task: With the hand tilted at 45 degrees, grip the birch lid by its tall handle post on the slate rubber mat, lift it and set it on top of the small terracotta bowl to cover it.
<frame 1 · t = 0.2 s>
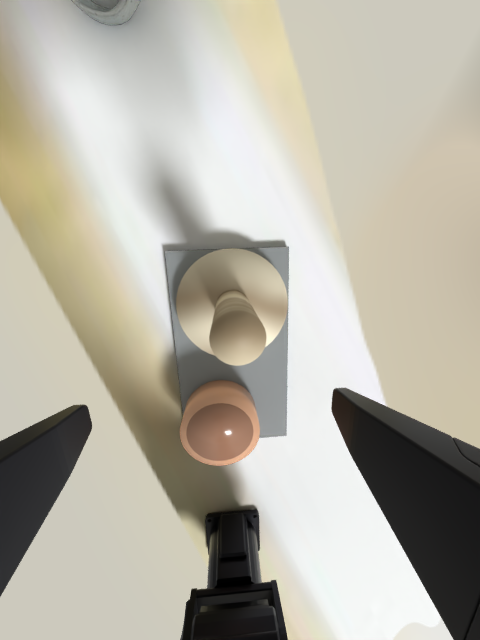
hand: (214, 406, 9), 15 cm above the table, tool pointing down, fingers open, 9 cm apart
birch lid: (232, 304, 22), point 1 cm above the table, touching slate mat
slate mat: (232, 352, 24), on the table
terracotta bowl: (220, 408, 24), resting on slate mat
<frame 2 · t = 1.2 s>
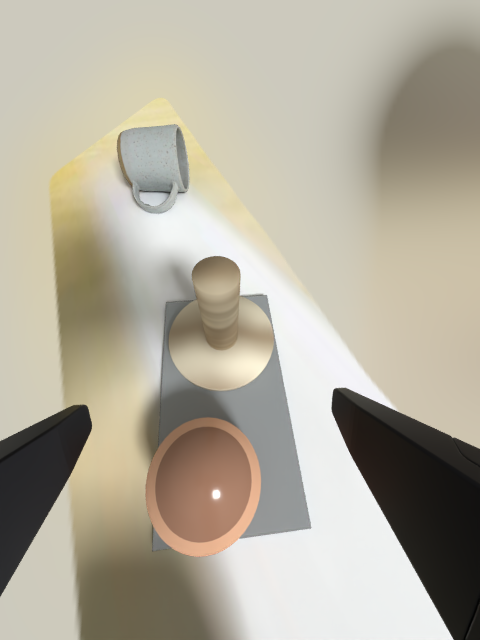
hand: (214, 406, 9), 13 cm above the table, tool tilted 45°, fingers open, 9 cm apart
birch lid: (222, 340, 23), point 1 cm above the table, touching slate mat
slate mat: (223, 392, 21), on the table
ceramic mug: (164, 193, 36), on the table
terracotta bowl: (209, 473, 18), resting on slate mat
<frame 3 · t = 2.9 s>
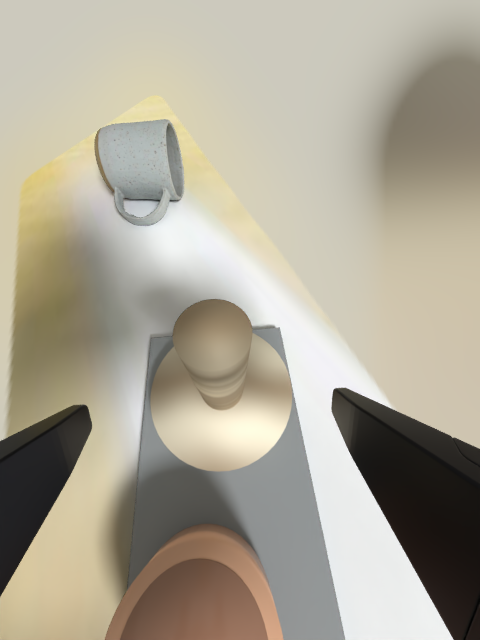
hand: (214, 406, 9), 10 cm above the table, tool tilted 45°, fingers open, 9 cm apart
birch lid: (222, 391, 18), point 1 cm above the table, touching slate mat
slate mat: (224, 469, 16), on the table
ceramic mug: (154, 202, 30), on the table
terracotta bowl: (203, 611, 12), resting on slate mat
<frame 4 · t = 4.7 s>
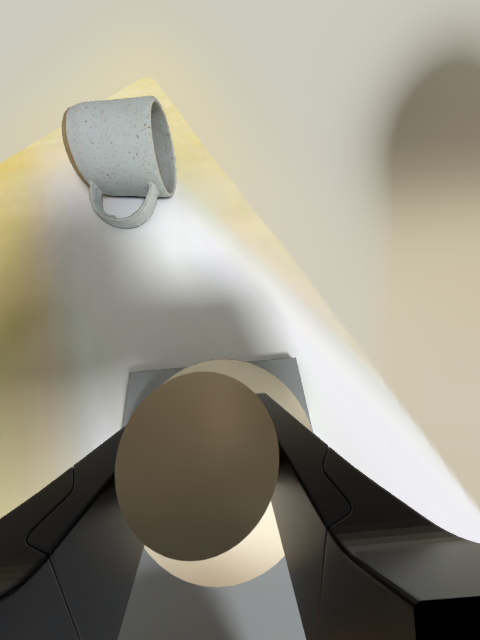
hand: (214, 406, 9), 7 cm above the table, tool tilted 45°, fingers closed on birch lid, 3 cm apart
birch lid: (222, 450, 13), point 1 cm above the table, touching gripper, slate mat
slate mat: (225, 569, 11), on the table
ceramic mug: (140, 199, 25), on the table
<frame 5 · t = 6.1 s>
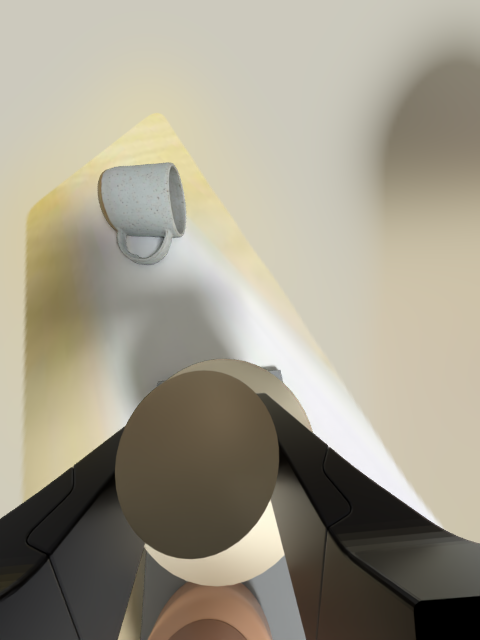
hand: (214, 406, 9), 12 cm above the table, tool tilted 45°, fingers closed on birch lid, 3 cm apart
birch lid: (222, 449, 13), point 6 cm above the table, touching gripper
slate mat: (229, 515, 17), on the table
ceramic mug: (156, 237, 30), on the table
when the fingers open (11 cm above the table, at t = 7.6 s): birch lid stays where it is, resting on terracotta bowl.
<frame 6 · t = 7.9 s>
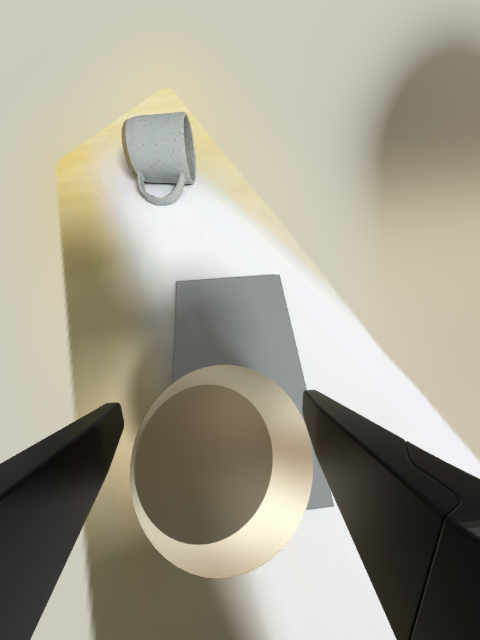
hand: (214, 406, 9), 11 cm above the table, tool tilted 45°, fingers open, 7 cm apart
birch lid: (223, 451, 14), point 4 cm above the table, touching terracotta bowl
slate mat: (237, 371, 21), on the table
ceramic mug: (169, 185, 34), on the table
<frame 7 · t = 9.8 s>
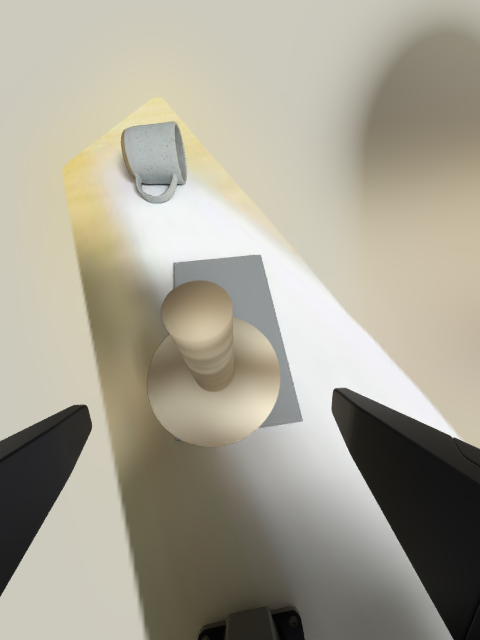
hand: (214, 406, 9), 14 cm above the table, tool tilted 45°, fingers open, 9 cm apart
birch lid: (215, 375, 19), point 4 cm above the table, touching terracotta bowl
slate mat: (227, 330, 25), on the table
ceramic mug: (164, 186, 39), on the table
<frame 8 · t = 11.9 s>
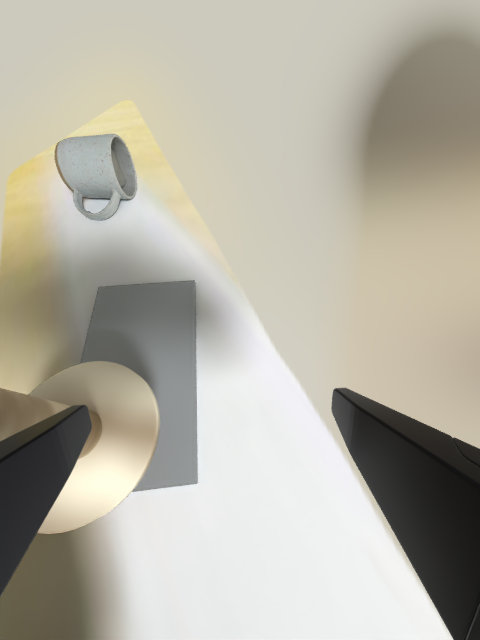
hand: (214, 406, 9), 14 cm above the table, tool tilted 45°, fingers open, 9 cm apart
birch lid: (87, 434, 16), point 4 cm above the table, touching terracotta bowl
slate mat: (140, 367, 23), on the table
ceramic mug: (110, 200, 36), on the table
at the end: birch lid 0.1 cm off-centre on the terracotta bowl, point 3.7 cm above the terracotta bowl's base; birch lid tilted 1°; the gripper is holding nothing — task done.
